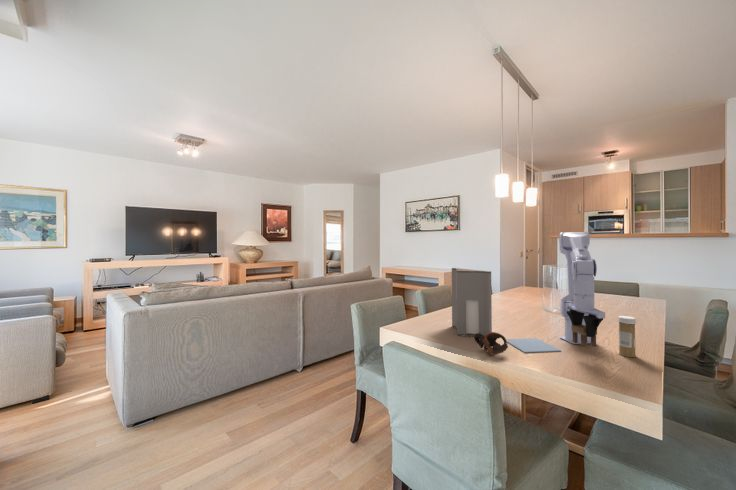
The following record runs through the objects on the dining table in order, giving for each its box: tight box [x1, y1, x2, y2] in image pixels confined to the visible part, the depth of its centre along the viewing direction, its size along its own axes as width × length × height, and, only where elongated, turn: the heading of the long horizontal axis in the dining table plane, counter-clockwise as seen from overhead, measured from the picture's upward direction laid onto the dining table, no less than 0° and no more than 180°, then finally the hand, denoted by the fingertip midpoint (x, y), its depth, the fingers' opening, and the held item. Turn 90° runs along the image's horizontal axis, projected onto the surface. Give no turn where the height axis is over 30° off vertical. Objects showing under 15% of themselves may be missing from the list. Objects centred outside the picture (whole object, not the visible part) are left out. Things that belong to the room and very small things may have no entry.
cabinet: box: [451, 267, 493, 337], centre depth 131 cm, size 21×10×28 cm, turn 30°
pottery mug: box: [473, 331, 509, 357], centre depth 109 cm, size 12×10×8 cm
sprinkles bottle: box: [618, 315, 637, 358], centre depth 104 cm, size 5×5×14 cm
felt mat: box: [506, 337, 562, 354], centre depth 115 cm, size 14×14×1 cm
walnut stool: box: [572, 325, 598, 348], centre depth 102 cm, size 5×5×6 cm
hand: (584, 334), depth 102 cm, fingers closed on walnut stool, 5 cm apart
